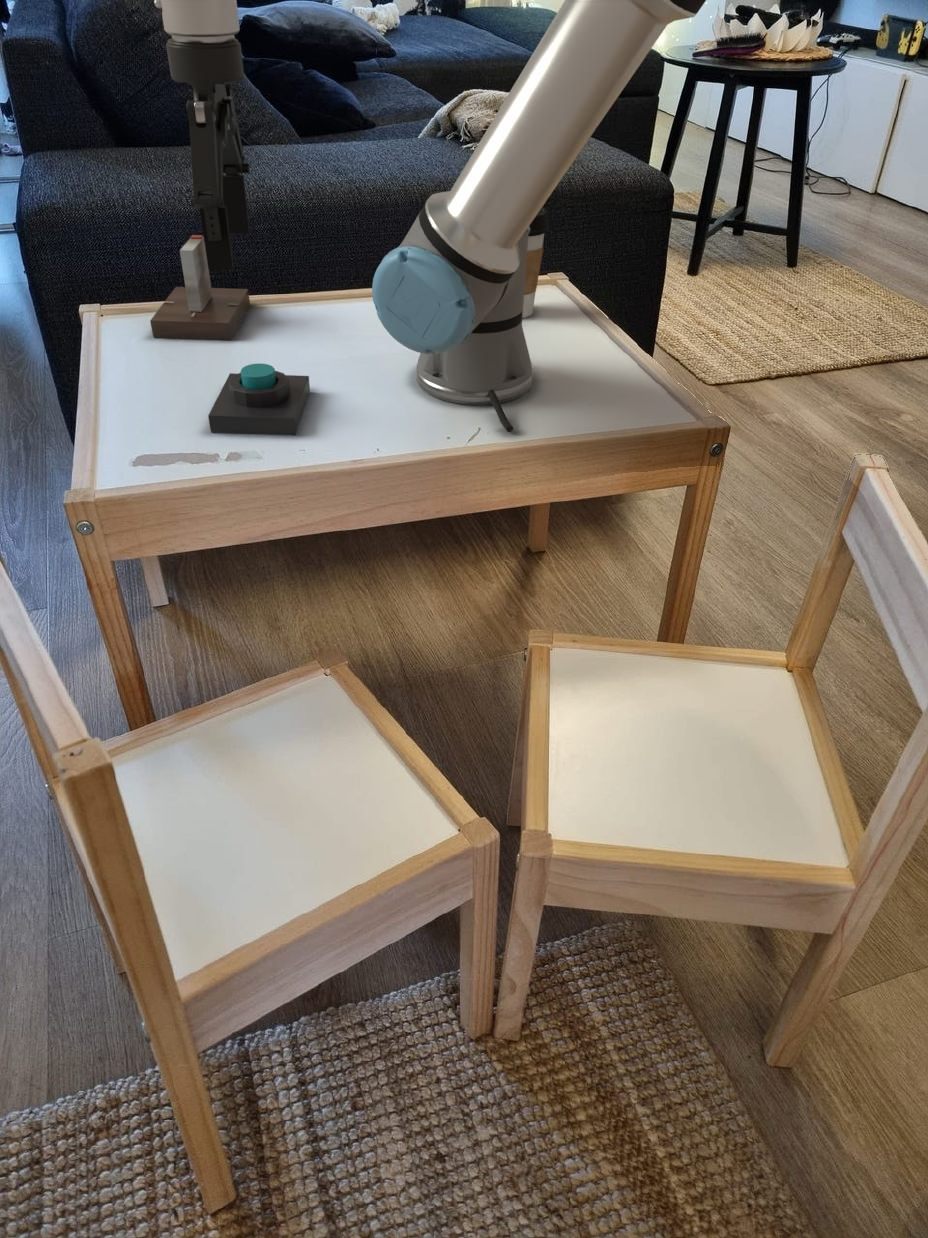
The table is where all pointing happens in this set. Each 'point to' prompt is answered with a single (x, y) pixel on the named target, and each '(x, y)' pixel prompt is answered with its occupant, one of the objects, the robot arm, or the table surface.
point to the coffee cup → (534, 259)
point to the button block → (260, 406)
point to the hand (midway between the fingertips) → (230, 250)
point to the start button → (258, 376)
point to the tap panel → (201, 315)
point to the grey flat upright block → (196, 273)
